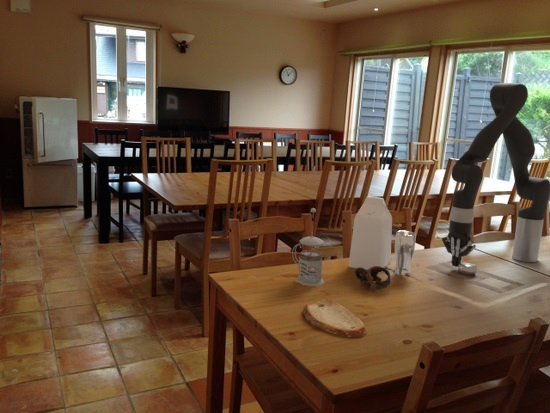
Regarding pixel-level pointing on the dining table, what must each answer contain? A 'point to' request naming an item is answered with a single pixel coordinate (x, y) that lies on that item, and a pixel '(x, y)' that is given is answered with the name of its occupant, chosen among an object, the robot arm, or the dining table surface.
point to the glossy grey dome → (467, 269)
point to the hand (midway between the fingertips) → (455, 265)
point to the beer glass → (404, 252)
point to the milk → (371, 235)
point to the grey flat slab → (474, 277)
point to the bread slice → (334, 319)
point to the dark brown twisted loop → (373, 277)
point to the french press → (310, 261)
